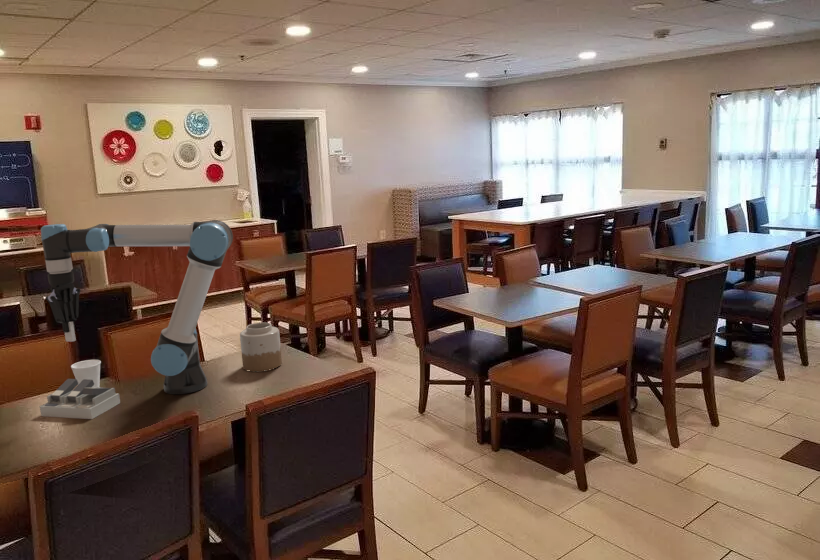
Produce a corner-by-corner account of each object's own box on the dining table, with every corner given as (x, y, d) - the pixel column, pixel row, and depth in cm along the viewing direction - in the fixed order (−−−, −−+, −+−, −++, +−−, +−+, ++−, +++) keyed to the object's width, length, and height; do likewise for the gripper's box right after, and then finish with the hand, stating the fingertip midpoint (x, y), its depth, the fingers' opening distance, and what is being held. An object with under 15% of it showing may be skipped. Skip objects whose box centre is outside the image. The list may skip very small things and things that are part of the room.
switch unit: (120, 402, 224) (118, 386, 223) (91, 419, 211) (89, 402, 210) (71, 400, 229) (69, 384, 228) (41, 416, 216) (38, 399, 214)
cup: (93, 397, 231) (88, 368, 228) (68, 397, 233) (64, 368, 230) (110, 387, 240) (106, 359, 238) (87, 387, 242) (83, 359, 240)
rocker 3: (110, 394, 222) (111, 387, 222) (91, 394, 213) (92, 388, 213) (101, 393, 223) (102, 387, 223) (82, 394, 214) (83, 387, 214)
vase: (289, 364, 257) (286, 324, 254) (257, 375, 247) (253, 333, 243) (267, 357, 268) (264, 318, 265) (235, 367, 257) (231, 327, 254)
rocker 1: (78, 383, 225) (76, 378, 224) (61, 400, 217) (59, 396, 216) (70, 383, 226) (67, 378, 225) (53, 400, 218) (50, 395, 217)
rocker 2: (94, 384, 223) (92, 379, 222) (78, 401, 216) (75, 396, 215) (85, 383, 224) (83, 379, 223) (69, 401, 217) (66, 396, 216)
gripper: (65, 268, 218) (75, 335, 222) (34, 275, 205) (46, 346, 210) (84, 268, 216) (94, 335, 220) (54, 275, 204) (65, 346, 208)
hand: (70, 340), depth 215 cm, fingers closed
